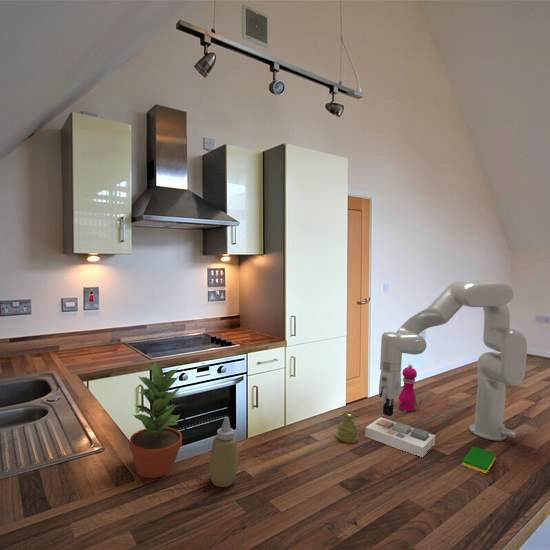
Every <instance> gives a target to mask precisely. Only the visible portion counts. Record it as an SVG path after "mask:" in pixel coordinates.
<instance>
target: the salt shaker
mask: <svg viewBox="0 0 550 550" xmlns="http://www.w3.org/2000/svg"><path fill="white" fill-rule="evenodd" d="M341 415H342V417H344V420H342V421H341V422H339V423H338V424H337V431H336V433H337V434H336V438H337V440H338V441H340V442H343V443H348V444H353V443H357V442H358V439H359V433H358V432H359V430H360V429H359V426H358V425H357V424H356V423H355V422H354V421H353V420H354V419H355V418H357V414H356V413H355V412H353V410H350V409H349V410H345V411H342V413H341Z"/></svg>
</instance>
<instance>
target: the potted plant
mask: <svg viewBox="0 0 550 550" xmlns="http://www.w3.org/2000/svg"><path fill="white" fill-rule="evenodd" d="M150 367H151V368H150V369H151V375H152V379H150V378H148V377H146V376H140V375H138V378H139V381H141V382H142V383H143V384H144V385H145V386H146V387H147V388H144V387H141V389H142V390H141V391H140V392H139V391H138V393H139V394H142V395H143V396H145V398H146V400H147V401H148V402H149V404H150V405H151V408H149V407H147V406H146V405H143V404H139V405H136V404H134V406H135V407H137V408H138V409H139V410H141V411H143V412H144V413H146V414H147V415H146V414H142V413H139V414H134V413H133V414H132V413H131V414H132V416H134V418H135V419H137V420H139V421H141V423H142V425H143V426H144V428H143V429H140V430H138V431H136V432H134V433H133V434H132V435H131V436H130V438H129V445H128V446H129V449H130V452H131V453H132V458H133V461H134V462H133V464H134V467H135V470H136V473H137V474H138V475H139V476H140V477H142V478H143V477H144V478H148V479H154V478H160V477H164V476H166V475H168V474H170V473H171V472H172V470H173V469H174V467H175V466H174V465H175V462H176V459H177V456H178V454H179V450H180V449H181V447H183V434H182V432H181V431H179V430H177V429H176V428H174V427H173V428H172V427H169V426H174V425H178V421H177V420H179V418H180V416H181V415H182V414H181V413H180V414H177V415H176V414H172V412H173V411H174V410H175V408H176V407H177V405H176V404H175V403H173V404H172V405H168V404H169V402H170V400H172V398H173V397H174V396H175V395H176V394H177V393H178V391H180V389H181V387H179V388H176V389H175V390H173V391H169V389H170V387H172V385H174V383H176V381H178V378H179V377H180V375H178V376H176V377H173V376H174V375H175V374H176V373H177V370H178V369H179V367H177V368H176V369H170V370H169V371H167V372H166V373H165V375H164V371H163V369H162V366H161V365H160V364H157V363H156V361H155V360H154V362H153V364H152V365H151V366H150ZM148 415H149V416H148ZM150 416H151V417H150Z"/></svg>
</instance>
